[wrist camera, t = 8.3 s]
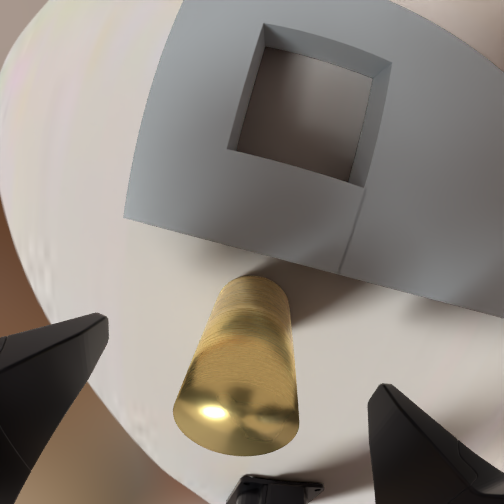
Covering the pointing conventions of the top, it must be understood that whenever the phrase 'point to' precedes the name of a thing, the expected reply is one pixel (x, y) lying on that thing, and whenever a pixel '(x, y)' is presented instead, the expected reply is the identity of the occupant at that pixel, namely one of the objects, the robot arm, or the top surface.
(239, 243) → the board
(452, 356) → the top surface
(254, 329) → the pin
